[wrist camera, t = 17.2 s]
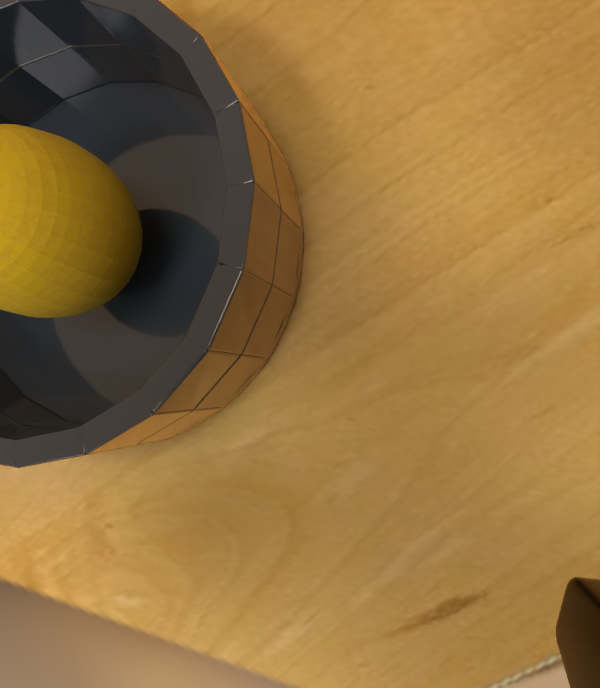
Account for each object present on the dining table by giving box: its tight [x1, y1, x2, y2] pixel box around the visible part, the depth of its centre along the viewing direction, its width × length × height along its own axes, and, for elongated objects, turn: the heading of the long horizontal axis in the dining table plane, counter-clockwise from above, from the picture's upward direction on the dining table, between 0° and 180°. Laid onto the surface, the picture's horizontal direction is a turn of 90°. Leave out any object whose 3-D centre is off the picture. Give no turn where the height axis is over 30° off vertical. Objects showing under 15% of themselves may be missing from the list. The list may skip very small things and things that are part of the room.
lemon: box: [0, 124, 142, 318], centre depth 18 cm, size 6×6×8 cm
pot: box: [0, 0, 303, 468], centre depth 20 cm, size 15×15×6 cm
